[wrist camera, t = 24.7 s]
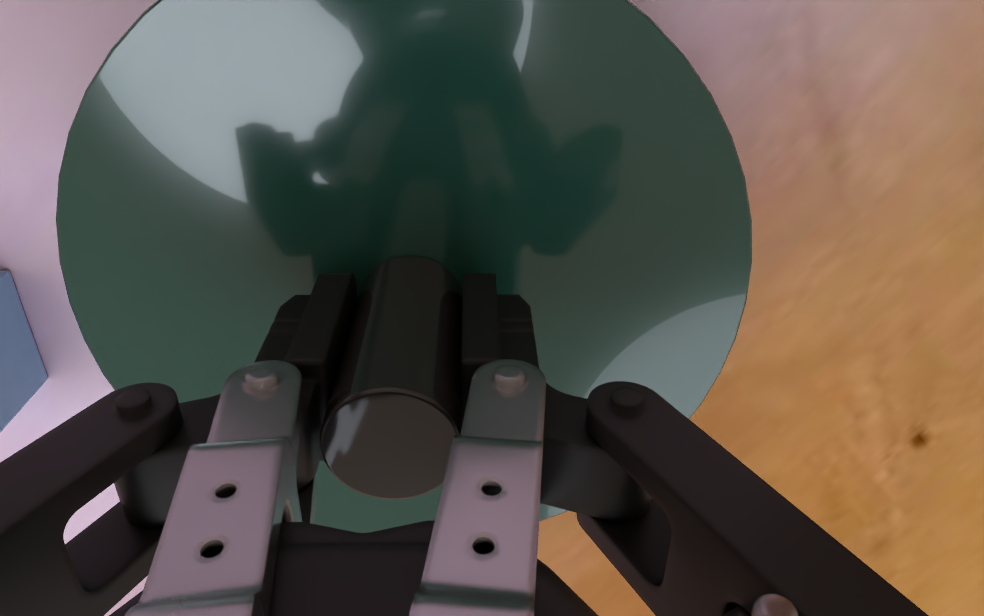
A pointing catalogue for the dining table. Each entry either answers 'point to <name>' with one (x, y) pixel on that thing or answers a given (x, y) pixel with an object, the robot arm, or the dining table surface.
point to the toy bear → (16, 354)
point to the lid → (403, 210)
